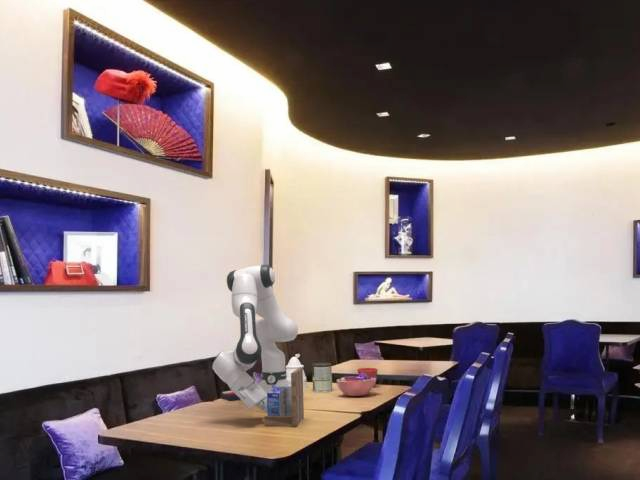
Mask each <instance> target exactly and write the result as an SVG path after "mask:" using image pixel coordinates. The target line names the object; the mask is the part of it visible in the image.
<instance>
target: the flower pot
mask: <svg viewBox="0 0 640 480" xmlns="http://www.w3.org/2000/svg"><path fill="white" fill-rule="evenodd" d="M360 372H364V373H365V374H366V375H367V377H373V378H376V379H377V377H378V376H377V375H378V368H375V367H363V368H357V375H358V376H359V373H360ZM376 385H377V381H376V382H375V384H374V386H373V388H372V389H374V388H376Z"/></svg>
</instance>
